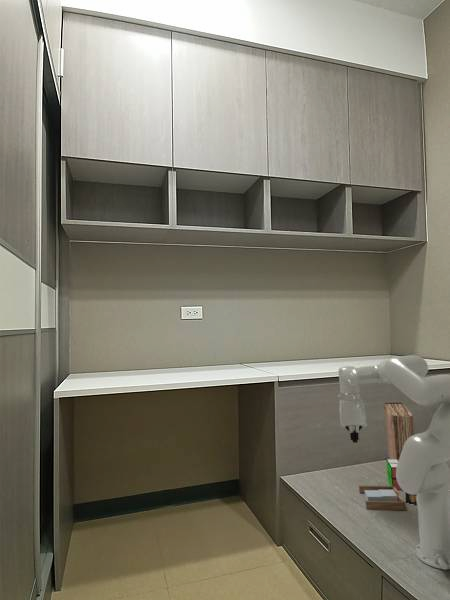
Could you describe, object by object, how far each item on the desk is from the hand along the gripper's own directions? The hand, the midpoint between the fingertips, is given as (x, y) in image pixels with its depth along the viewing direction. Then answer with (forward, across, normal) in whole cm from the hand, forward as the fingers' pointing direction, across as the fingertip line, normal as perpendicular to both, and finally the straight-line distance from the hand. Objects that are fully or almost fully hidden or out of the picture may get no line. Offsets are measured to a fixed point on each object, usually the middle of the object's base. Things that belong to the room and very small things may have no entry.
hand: (354, 441), depth 155 cm
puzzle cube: (+27, +22, +23) cm, 42 cm away
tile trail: (+27, +6, +8) cm, 29 cm away
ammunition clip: (+28, +24, +5) cm, 37 cm away
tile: (+28, +12, +9) cm, 31 cm away
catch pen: (+27, +10, +8) cm, 30 cm away
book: (+27, +28, +43) cm, 58 cm away
